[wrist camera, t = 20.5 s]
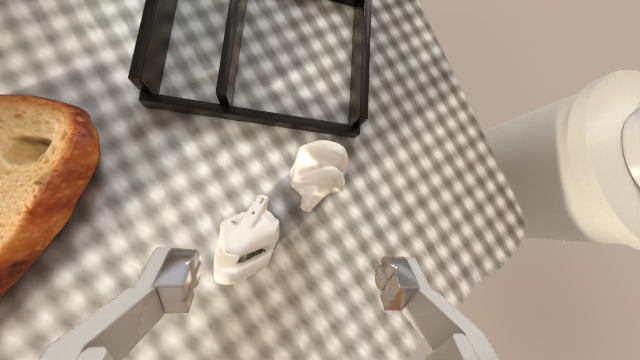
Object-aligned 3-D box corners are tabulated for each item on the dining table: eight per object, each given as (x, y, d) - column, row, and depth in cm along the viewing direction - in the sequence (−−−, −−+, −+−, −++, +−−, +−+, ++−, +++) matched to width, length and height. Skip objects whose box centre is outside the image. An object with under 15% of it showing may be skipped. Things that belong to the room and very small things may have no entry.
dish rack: (360, 3, 27) (372, -23, 24) (355, 138, 24) (367, 127, 21) (177, -48, 23) (165, -87, 20) (145, 107, 20) (124, 88, 17)
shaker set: (313, 144, 23) (356, 78, 12) (344, 175, 23) (412, 138, 12) (213, 237, 20) (152, 259, 9) (250, 272, 20) (232, 336, 9)
